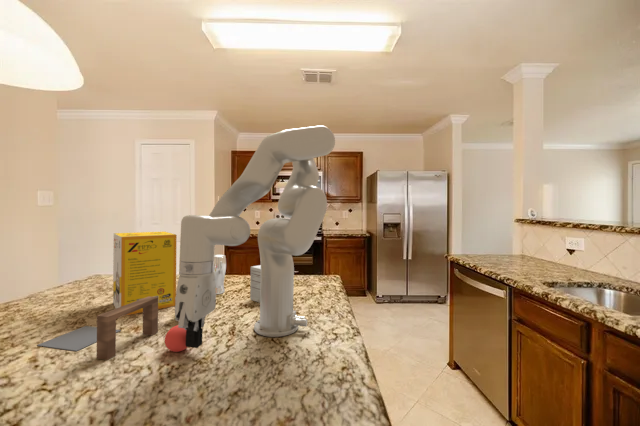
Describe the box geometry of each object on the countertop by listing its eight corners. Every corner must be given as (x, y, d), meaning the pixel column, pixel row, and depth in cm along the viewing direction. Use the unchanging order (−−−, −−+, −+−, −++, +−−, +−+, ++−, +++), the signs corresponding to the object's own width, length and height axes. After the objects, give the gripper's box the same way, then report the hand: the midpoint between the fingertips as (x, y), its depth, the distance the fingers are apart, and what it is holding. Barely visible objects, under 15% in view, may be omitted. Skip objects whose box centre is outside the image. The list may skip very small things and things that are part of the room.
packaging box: (113, 303, 103) (113, 233, 103) (163, 295, 114) (164, 231, 113) (119, 316, 91) (120, 236, 91) (175, 305, 102) (176, 234, 101)
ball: (201, 339, 72) (191, 317, 73) (185, 350, 66) (174, 326, 67) (182, 348, 73) (172, 326, 74) (165, 360, 67) (154, 337, 68)
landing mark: (120, 330, 81) (120, 330, 81) (76, 351, 69) (76, 350, 69) (85, 326, 83) (85, 325, 83) (36, 345, 71) (37, 344, 71)
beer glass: (208, 290, 121) (208, 254, 121) (225, 289, 123) (226, 254, 123) (207, 295, 114) (207, 257, 114) (225, 294, 116) (226, 256, 116)
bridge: (157, 332, 80) (158, 297, 80) (107, 359, 65) (107, 316, 65) (148, 331, 80) (148, 296, 80) (96, 358, 66) (96, 315, 66)
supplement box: (264, 295, 116) (265, 263, 115) (277, 299, 111) (277, 266, 111) (249, 299, 110) (249, 266, 110) (262, 304, 105) (262, 269, 105)
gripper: (192, 275, 60) (189, 363, 60) (226, 263, 75) (224, 334, 75) (160, 272, 62) (156, 359, 61) (200, 261, 76) (197, 331, 76)
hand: (193, 345), depth 68 cm, fingers closed
